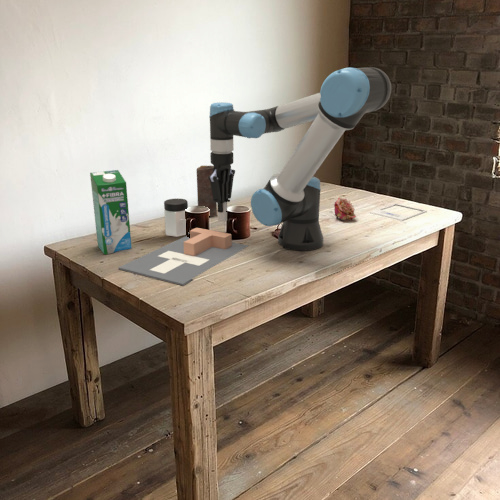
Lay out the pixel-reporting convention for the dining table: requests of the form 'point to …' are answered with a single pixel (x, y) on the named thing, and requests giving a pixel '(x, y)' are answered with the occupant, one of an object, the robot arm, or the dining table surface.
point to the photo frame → (395, 216)
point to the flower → (344, 209)
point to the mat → (179, 262)
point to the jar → (175, 217)
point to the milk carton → (111, 211)
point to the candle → (205, 189)
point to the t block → (206, 241)
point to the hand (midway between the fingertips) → (222, 220)
